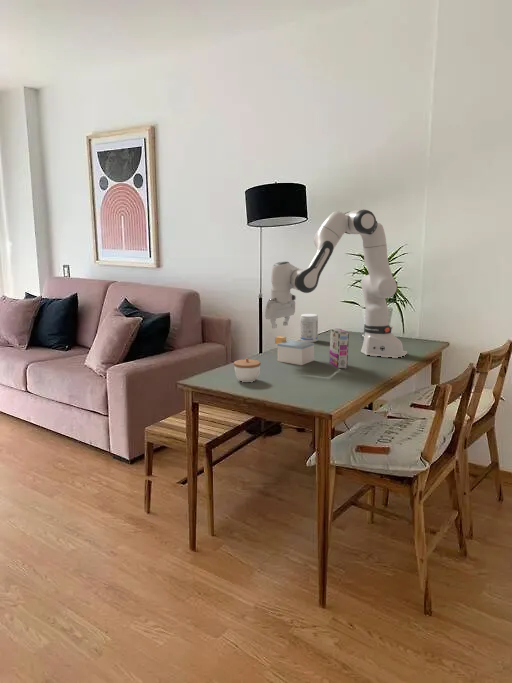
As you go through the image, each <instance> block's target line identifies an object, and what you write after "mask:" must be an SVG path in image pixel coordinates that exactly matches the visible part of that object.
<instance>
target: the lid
mask: <svg viewBox="0 0 512 683" xmlns="http://www.w3.org/2000/svg"><path fill="white" fill-rule="evenodd" d="M274 344H277V347H278V346H282V347H289V348H296V349H304V348H307V347H310V346H313V345H314V346H315V342H302V341H301V340H294V339H293V340H292V339H289V340H287V337H286V336H281V335H278V336H275V337H274Z"/></svg>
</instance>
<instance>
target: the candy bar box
mask: <svg viewBox="0 0 512 683" xmlns="http://www.w3.org/2000/svg"><path fill="white" fill-rule="evenodd" d="M329 336H330V337H329V363H330V364H332V365H333V366H335V367H336V368H338V370H347V369H348V360H349V343H350V342H349V340H350V339H349V338H350V332H348V331H346V330H344V329H342V328H330V335H329ZM346 368H347V369H346Z"/></svg>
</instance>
